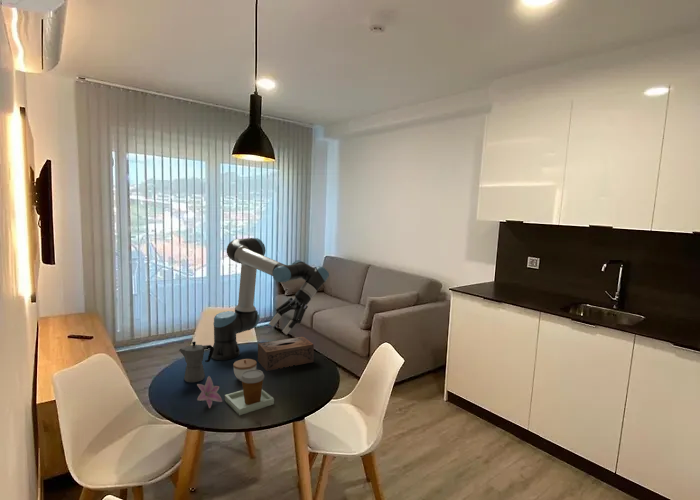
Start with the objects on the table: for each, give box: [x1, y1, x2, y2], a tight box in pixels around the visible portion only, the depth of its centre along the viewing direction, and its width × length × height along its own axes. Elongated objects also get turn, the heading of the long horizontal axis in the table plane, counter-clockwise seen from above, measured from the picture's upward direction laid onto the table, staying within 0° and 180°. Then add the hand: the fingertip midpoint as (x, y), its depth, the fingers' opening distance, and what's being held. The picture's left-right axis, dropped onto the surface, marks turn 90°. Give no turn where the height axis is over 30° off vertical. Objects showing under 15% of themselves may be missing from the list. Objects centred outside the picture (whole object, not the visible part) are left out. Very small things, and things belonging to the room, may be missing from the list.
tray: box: [224, 388, 275, 416], centre depth 164 cm, size 15×15×2 cm
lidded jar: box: [232, 358, 258, 382], centre depth 187 cm, size 11×11×9 cm
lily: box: [196, 375, 223, 409], centre depth 163 cm, size 12×12×10 cm
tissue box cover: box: [257, 336, 315, 372], centre depth 209 cm, size 26×14×10 cm, turn 120°
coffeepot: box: [178, 341, 214, 383], centre depth 186 cm, size 15×9×18 cm, turn 110°
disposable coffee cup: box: [240, 369, 265, 405], centre depth 162 cm, size 10×10×12 cm
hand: (277, 329), depth 184 cm, fingers open, 13 cm apart
